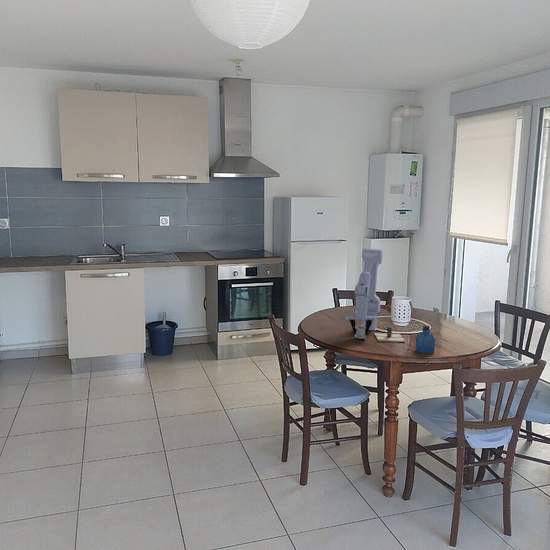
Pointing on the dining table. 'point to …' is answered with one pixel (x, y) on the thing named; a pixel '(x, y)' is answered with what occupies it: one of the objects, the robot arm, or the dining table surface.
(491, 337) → the dining table surface
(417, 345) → the perfume bottle
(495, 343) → the dining table surface
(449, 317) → the dining table surface
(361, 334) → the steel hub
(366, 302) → the robot arm
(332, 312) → the dining table surface
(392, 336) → the post stand
